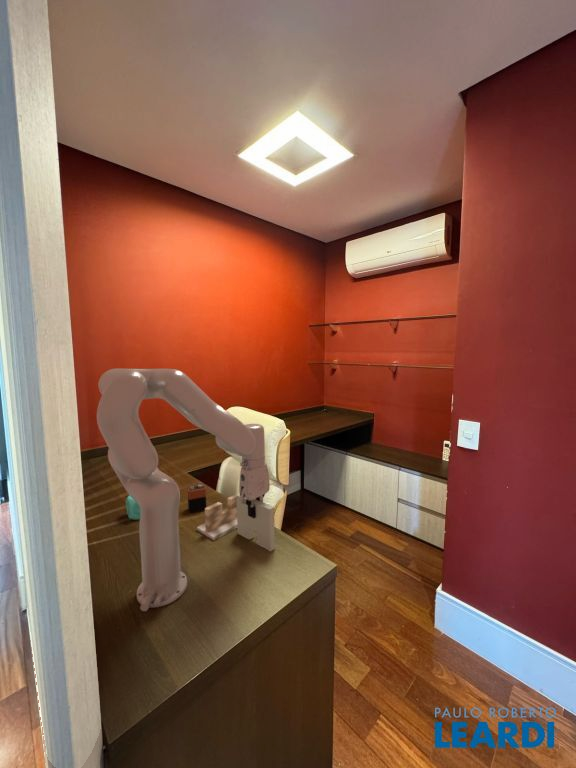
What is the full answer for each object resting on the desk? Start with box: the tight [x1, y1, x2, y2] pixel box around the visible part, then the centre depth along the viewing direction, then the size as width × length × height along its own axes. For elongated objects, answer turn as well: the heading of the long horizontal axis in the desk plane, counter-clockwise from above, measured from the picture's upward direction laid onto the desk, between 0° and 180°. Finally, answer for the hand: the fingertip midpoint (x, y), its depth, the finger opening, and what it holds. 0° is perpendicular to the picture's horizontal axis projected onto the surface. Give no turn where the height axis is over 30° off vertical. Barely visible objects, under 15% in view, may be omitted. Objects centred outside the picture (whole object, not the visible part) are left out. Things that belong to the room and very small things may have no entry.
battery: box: [186, 483, 207, 514], centre depth 126 cm, size 4×7×10 cm, turn 113°
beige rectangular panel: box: [237, 493, 276, 552], centre depth 104 cm, size 2×16×14 cm, turn 49°
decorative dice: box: [125, 494, 141, 521], centre depth 123 cm, size 8×8×8 cm
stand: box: [196, 492, 240, 541], centre depth 115 cm, size 18×10×9 cm, turn 140°
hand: (254, 514), depth 104 cm, fingers closed on beige rectangular panel, 2 cm apart
